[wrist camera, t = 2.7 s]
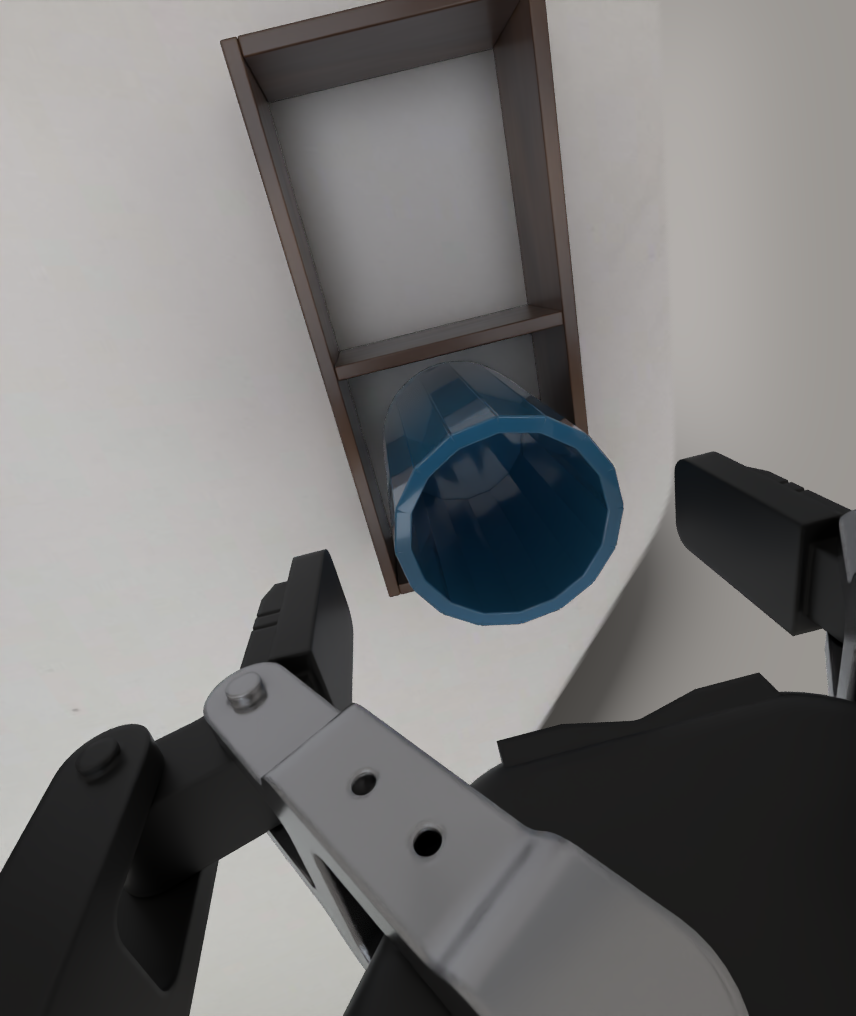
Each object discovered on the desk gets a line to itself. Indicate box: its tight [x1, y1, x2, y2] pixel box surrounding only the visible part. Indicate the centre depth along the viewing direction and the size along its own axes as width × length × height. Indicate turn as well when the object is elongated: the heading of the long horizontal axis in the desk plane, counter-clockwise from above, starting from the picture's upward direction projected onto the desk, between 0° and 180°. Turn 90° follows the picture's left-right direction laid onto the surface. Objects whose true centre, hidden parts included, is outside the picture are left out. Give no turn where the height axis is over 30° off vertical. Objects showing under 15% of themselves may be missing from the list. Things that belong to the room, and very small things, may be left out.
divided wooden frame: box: [220, 0, 588, 597], centre depth 17 cm, size 15×7×4 cm, turn 13°
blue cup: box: [383, 361, 624, 626], centre depth 16 cm, size 5×5×8 cm
